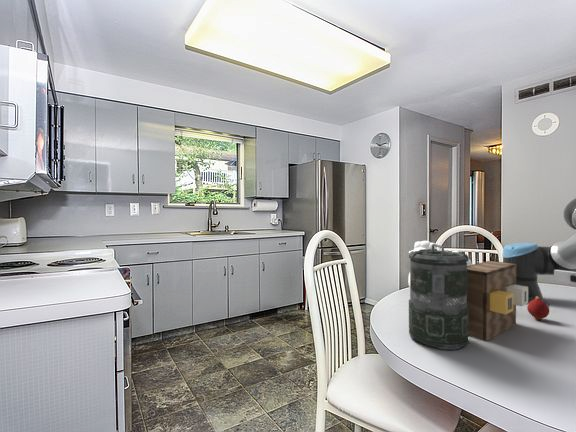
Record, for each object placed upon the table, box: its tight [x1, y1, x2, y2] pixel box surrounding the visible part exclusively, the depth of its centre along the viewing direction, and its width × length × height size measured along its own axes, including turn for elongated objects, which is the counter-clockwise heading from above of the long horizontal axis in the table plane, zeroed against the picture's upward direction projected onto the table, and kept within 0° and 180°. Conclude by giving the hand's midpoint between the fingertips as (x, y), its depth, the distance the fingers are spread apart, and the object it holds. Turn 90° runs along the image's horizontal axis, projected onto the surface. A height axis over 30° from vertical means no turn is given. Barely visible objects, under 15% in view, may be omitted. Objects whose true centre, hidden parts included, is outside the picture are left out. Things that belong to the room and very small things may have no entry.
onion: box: [526, 297, 550, 321], centre depth 105 cm, size 6×6×8 cm
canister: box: [408, 243, 470, 351], centre depth 90 cm, size 16×16×28 cm
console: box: [467, 260, 517, 342], centre depth 98 cm, size 22×8×20 cm, turn 125°
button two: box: [490, 290, 513, 314], centre depth 90 cm, size 5×5×5 cm
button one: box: [506, 284, 529, 307], centre depth 97 cm, size 5×5×5 cm
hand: (555, 275), depth 79 cm, fingers closed
